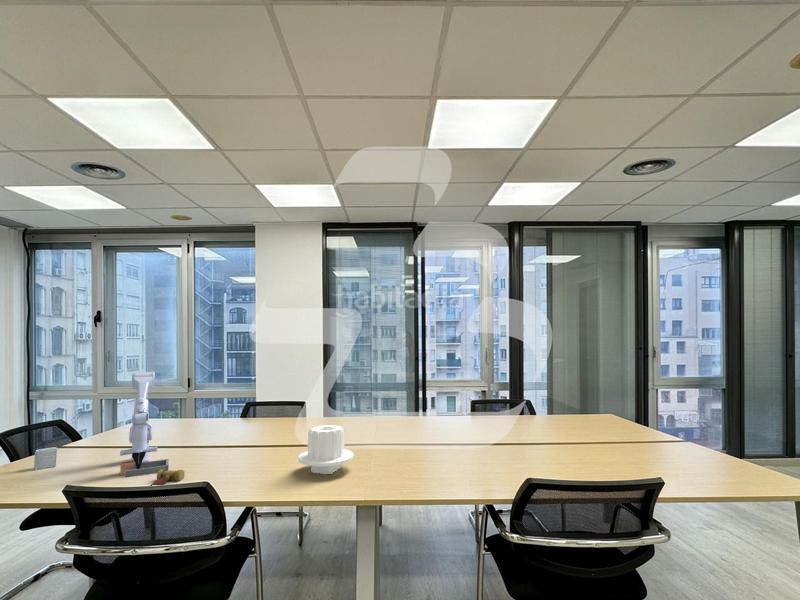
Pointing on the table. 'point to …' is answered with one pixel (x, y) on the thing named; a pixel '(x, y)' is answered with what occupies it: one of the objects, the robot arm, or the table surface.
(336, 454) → the ribbed cylinder on disc
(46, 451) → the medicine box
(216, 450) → the table surface
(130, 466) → the cube
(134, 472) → the grey u-shaped frame
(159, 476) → the gavel
